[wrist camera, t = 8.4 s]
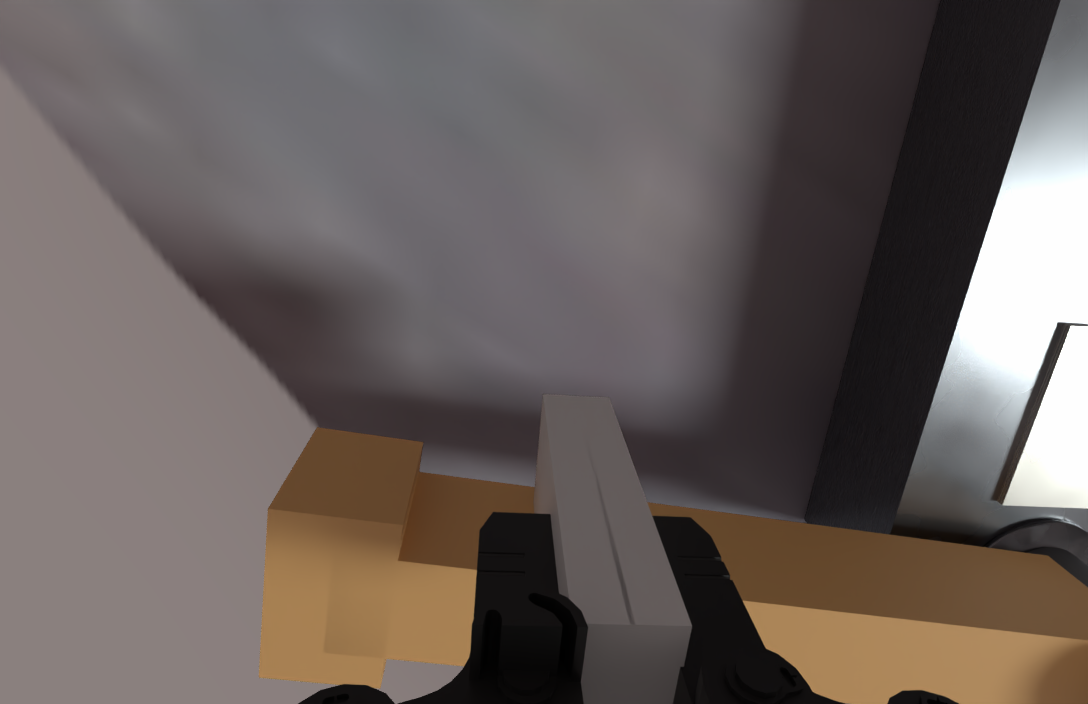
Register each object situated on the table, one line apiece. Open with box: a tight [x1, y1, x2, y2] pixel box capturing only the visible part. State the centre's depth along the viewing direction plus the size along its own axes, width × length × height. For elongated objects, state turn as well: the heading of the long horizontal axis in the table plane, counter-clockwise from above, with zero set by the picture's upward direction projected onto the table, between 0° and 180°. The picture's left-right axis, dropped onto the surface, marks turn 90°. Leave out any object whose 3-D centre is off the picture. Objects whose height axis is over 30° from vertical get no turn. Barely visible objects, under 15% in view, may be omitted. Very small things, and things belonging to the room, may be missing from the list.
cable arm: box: [259, 427, 1088, 704], centre depth 14 cm, size 21×4×5 cm, turn 79°
